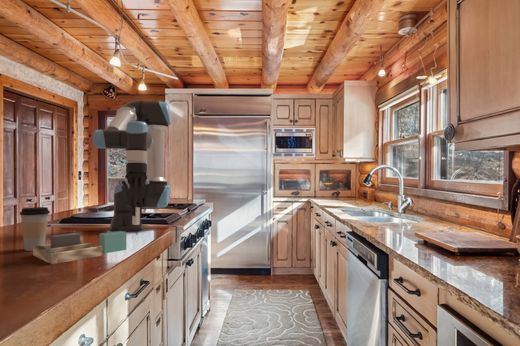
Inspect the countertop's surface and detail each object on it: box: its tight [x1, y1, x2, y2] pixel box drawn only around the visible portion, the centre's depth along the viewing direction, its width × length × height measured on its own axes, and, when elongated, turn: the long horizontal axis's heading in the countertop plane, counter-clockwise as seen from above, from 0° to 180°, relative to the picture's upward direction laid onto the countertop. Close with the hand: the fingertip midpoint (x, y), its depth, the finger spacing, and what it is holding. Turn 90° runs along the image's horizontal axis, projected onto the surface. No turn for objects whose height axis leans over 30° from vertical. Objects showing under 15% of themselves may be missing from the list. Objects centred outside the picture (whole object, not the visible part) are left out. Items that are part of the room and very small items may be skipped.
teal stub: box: [98, 231, 127, 254], centre depth 125 cm, size 8×4×6 cm, turn 139°
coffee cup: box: [18, 206, 51, 252], centre depth 126 cm, size 9×9×15 cm
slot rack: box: [32, 239, 104, 265], centre depth 117 cm, size 16×18×3 cm
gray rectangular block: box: [50, 232, 81, 248], centre depth 120 cm, size 8×4×6 cm, turn 139°
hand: (136, 224), depth 131 cm, fingers closed
